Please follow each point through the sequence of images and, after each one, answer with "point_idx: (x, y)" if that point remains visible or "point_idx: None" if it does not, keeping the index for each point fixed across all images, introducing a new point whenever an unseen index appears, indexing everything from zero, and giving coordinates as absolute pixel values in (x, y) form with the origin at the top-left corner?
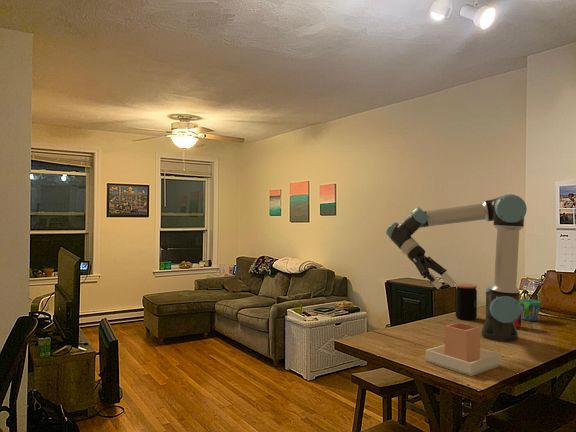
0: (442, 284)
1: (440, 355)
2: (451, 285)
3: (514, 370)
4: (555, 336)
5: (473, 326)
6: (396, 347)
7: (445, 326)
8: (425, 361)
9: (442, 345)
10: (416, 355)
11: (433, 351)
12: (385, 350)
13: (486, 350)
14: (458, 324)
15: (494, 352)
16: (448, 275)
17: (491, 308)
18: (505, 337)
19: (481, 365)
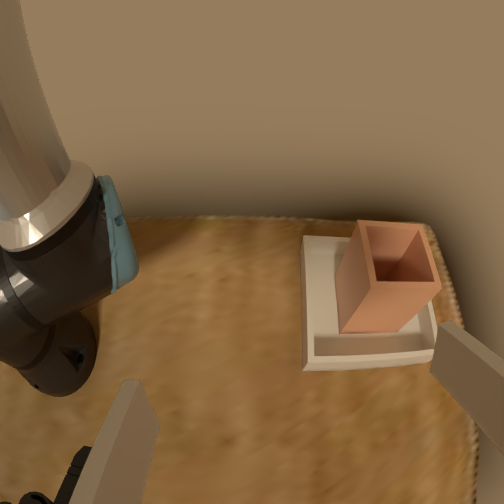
0: (439, 324)
1: (431, 311)
2: (154, 422)
3: (301, 227)
4: None
5: (367, 235)
6: (399, 487)
7: (440, 286)
8: (425, 362)
9: (377, 358)
10: (411, 409)
11: (433, 333)
12: (440, 474)
13: (309, 264)
14: (381, 283)
15: (306, 246)
16: (100, 459)
17: (134, 260)
18: (85, 320)
19: None
